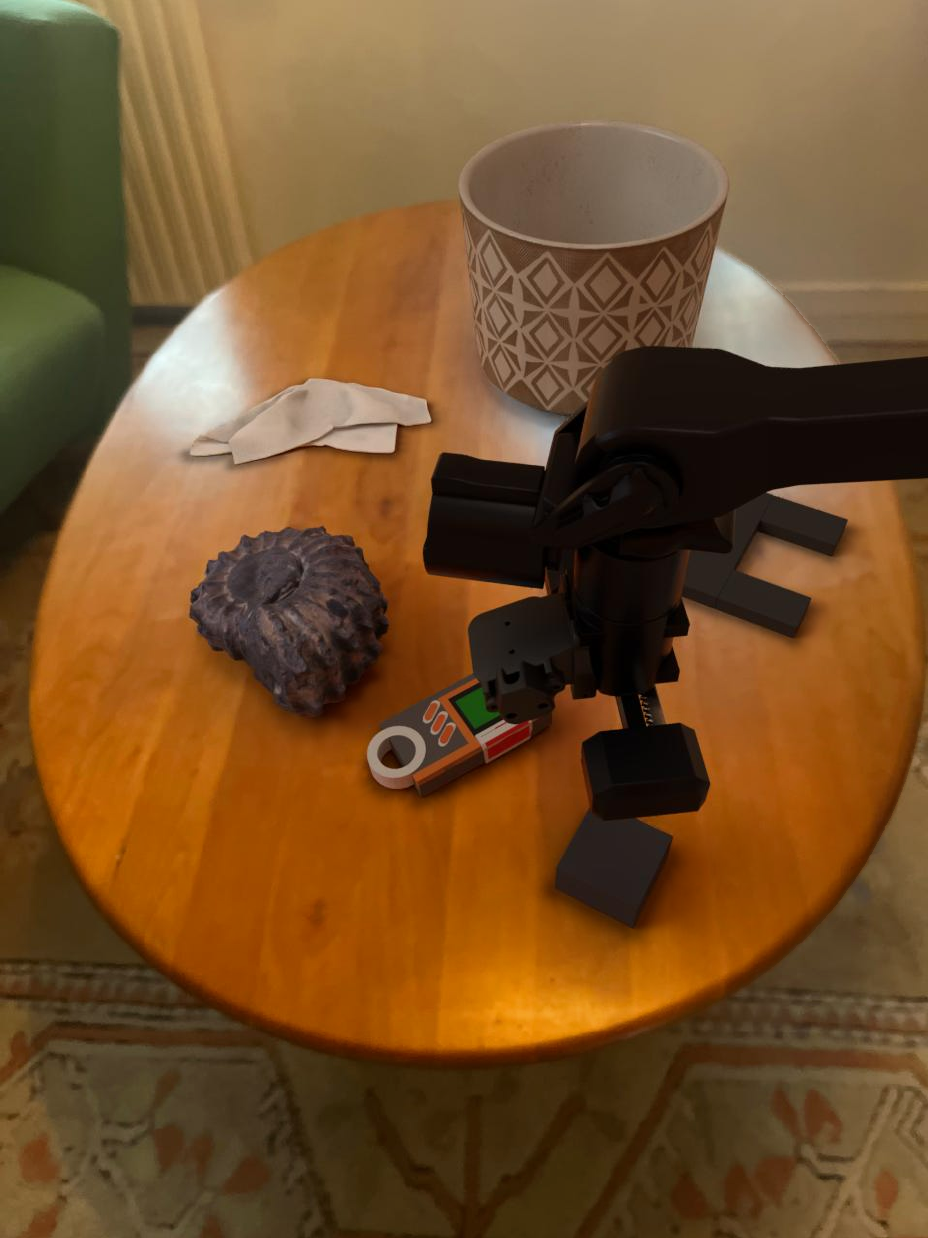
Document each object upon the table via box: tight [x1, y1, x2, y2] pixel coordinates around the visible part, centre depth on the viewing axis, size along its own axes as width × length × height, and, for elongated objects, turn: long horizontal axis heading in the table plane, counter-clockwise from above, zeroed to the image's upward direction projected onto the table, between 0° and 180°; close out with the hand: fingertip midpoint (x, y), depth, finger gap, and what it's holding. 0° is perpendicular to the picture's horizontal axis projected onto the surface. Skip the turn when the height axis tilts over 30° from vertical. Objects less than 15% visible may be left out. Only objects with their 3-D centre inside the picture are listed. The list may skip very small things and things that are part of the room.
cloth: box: [189, 377, 432, 466], centre depth 104 cm, size 26×14×2 cm, turn 91°
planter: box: [458, 119, 730, 416], centre depth 101 cm, size 26×26×22 cm
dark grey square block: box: [554, 807, 674, 929], centre depth 68 cm, size 6×6×4 cm
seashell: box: [188, 525, 390, 718], centre depth 81 cm, size 20×13×15 cm
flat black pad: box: [682, 492, 849, 639], centre depth 90 cm, size 20×15×2 cm
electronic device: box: [366, 672, 553, 798], centre depth 77 cm, size 7×3×15 cm
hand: (607, 742), depth 62 cm, fingers open, 9 cm apart
